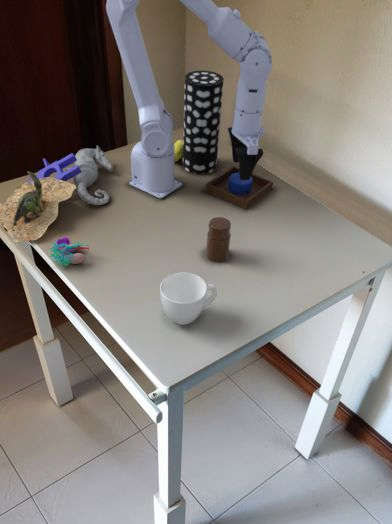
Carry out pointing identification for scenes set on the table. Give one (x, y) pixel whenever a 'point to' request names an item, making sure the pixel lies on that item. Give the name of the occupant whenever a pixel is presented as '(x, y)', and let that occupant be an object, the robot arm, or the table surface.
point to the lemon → (178, 150)
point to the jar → (218, 239)
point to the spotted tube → (201, 121)
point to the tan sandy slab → (34, 207)
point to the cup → (185, 296)
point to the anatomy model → (67, 248)
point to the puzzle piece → (59, 169)
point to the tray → (245, 201)
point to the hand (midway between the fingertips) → (241, 170)
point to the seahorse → (90, 174)
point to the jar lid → (239, 184)
